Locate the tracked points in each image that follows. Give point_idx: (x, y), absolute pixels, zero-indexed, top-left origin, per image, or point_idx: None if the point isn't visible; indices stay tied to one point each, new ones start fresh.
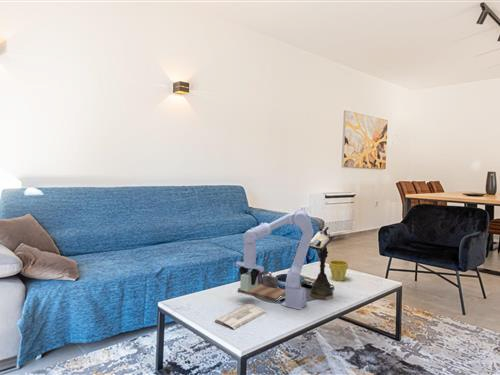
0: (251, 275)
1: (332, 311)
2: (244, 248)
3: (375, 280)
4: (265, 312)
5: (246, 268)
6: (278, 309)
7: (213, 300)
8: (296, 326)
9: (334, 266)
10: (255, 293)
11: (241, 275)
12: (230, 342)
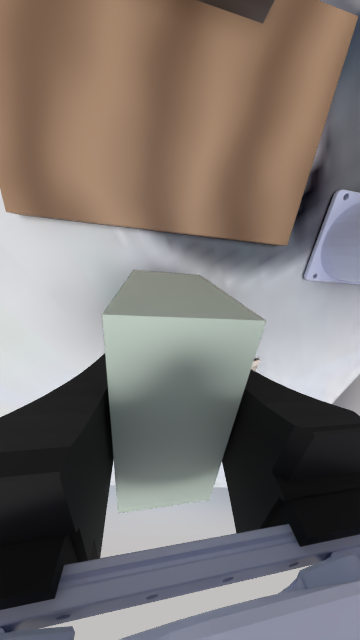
0: (228, 467)
1: None
2: None
3: None
4: (257, 364)
5: (84, 513)
6: (294, 318)
7: (25, 379)
8: (346, 384)
9: None
10: (158, 230)
11: (130, 510)
12: (225, 484)
